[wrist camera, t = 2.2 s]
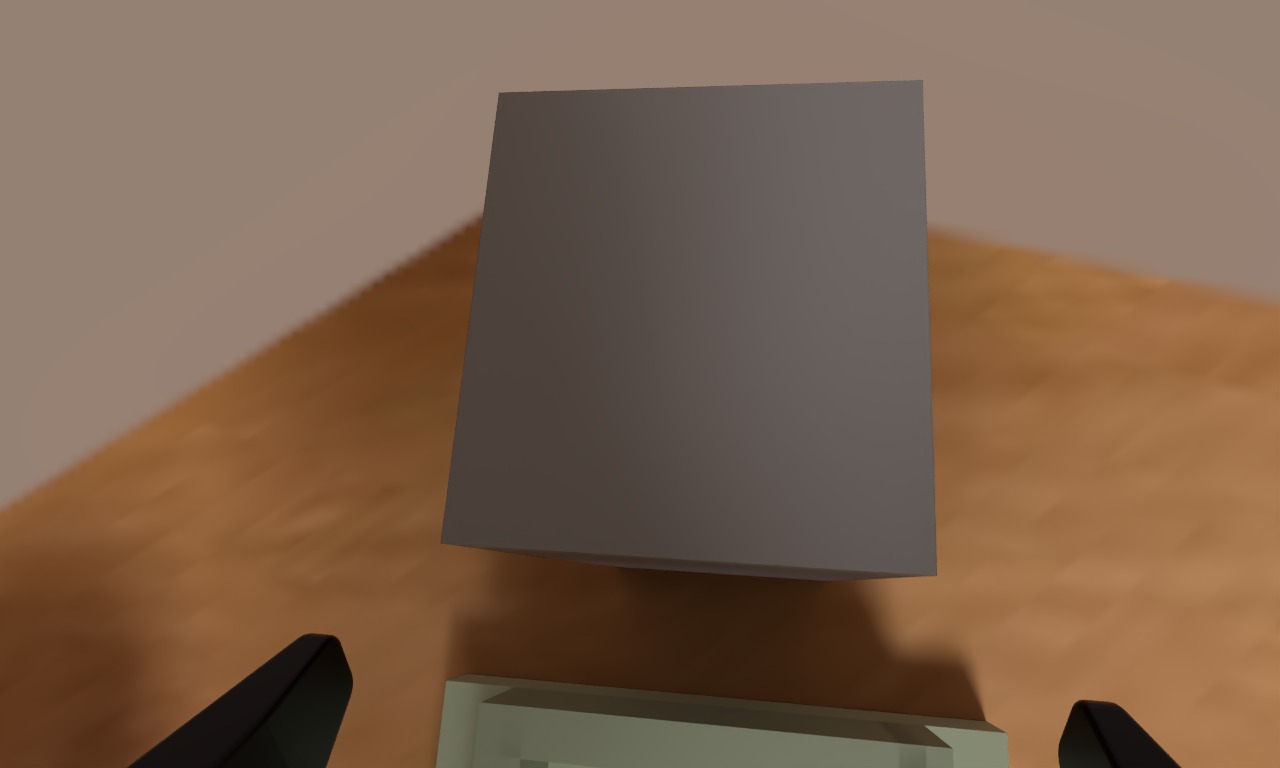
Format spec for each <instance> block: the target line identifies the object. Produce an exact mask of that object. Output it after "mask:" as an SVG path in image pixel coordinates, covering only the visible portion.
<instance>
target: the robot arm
mask: <svg viewBox="0 0 1280 768" xmlns="http://www.w3.org/2000/svg"><path fill="white" fill-rule="evenodd" d="M352 688H353V677H352V673H351V670H350V667H349V665H348V662H347V659H346V657H345V654H344V651H343V648H342V646H341V643H340V641H339V639H338V638H336V637H335V636H333V635H325V634H313V633H311V634H305V635H303V636H301V637H299V638H298V639H296V640H295V641H294V642H293V643H291V644H290V645H289V646H287V647H286V648H285V649H283V650H282V651H281V652H279V653H278V654H277V655H275V656H274V657H273V658H271V659H270V660H269V661H267V662H266V663H265V664H263V665H262V666H261V667H259V668H258V669H257V670H255V671H254V672H253V673H251V674H250V675H249V676H247V677H246V678H245V679H244V680H242V681H241V682H240V683H238V684H237V685H236V686H234V687H233V688H232V689H230V690H229V691H228V692H226V693H225V694H224V695H222V696H221V697H220V698H218V699H217V700H216V701H214V702H213V703H212V704H210V705H209V706H208V707H206V708H205V709H204V710H202V711H201V712H200V713H199V714H197V715H196V716H195V717H193V718H192V719H191V720H189V721H188V722H187V723H185V724H184V725H183V726H181V727H180V728H179V729H177V730H176V731H175V732H173V733H172V734H171V735H169V736H168V737H167V738H165V739H164V740H163V741H161V742H160V743H159V744H157V745H156V746H155V747H153V748H152V749H151V750H150V751H148V752H147V753H146V754H144V755H143V756H142V757H140V758H139V759H138V760H136V761H135V762H134V763H132V764H131V765H130V766H128V767H127V768H326V766H327V763H328V760H329V757H330V754H331V751H332V749H333V746H334V743H335V740H336V737H337V734H338V731H339V728H340V725H341V723H342V720H343V717H344V714H345V711H346V708H347V705H348V702H349V699H350V696H351V693H352ZM1058 757H1059V765H1060V768H1181V767H1180V766H1179V765H1178V764H1177V763H1176V762H1175V761H1174V760H1173V759H1172V758H1171V757H1170V756H1169V755H1168V754H1167V753H1166V752H1165V751H1164V750H1163V749H1162V748H1161V746H1160V745H1159V744H1158V743H1157V742H1156V741H1155V740H1154V739H1153V738H1152V737H1151V736H1150V735H1149V734H1148V733H1147V732H1146V731H1145V730H1144V729H1143V728H1142V727H1141V726H1140V725H1139V724H1138V723H1137V722H1136V721H1135V720H1134V719H1133V718H1132V717H1131V716H1130V715H1129V714H1128V713H1127V712H1126V711H1125V710H1124V709H1123V708H1122V707H1120V706H1119V705H1117V704H1115V703H1111V702H1104V701H1093V700H1079V701H1077V702H1076V703H1075V704H1074V705H1073V707H1072V710H1071V712H1070V715H1069V718H1068V720H1067V723H1066V726H1065V728H1064V731H1063V734H1062V737H1061V739H1060V743H1059V749H1058Z"/></svg>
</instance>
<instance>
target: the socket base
mask: <svg viewBox="0 0 1280 768" xmlns="http://www.w3.org/2000/svg"><path fill="white" fill-rule="evenodd" d="M436 768H1009V759H1008V739H1007V733H1006V732H1004V731H1002V730H1001V729H999V728H997V727H995V726H994V725H992V724H990V723H988V722H987V721H976V720H965V719H954V718H943V717H932V716H921V715H910V714H899V713H889V712H878V711H867V710H856V709H845V708H834V707H823V706H812V705H801V704H790V703H780V702H769V701H758V700H747V699H736V698H725V697H714V696H703V695H692V694H682V693H671V692H660V691H649V690H638V689H627V688H616V687H605V686H594V685H584V684H573V683H562V682H551V681H540V680H529V679H518V678H507V677H496V676H486V675H475V674H466V675H463V676H460V677H456V678H453V679H450V680H447V681H446V687H445V695H444V703H443V712H442V720H441V728H440V736H439V744H438V752H437V761H436Z"/></svg>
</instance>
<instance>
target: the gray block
mask: <svg viewBox="0 0 1280 768" xmlns="http://www.w3.org/2000/svg"><path fill="white" fill-rule="evenodd" d="M924 148H925V147H924V112H923V81H922V80H914V81H881V82H880V81H879V82H846V83H813V84H812V83H811V84H778V85H747V86H745V85H744V86H712V87H711V86H710V87H679V88H678V87H677V88H643V89H610V90H577V91H542V92H510V93H499V97H498V106H497V112H496V120H495V128H494V136H493V143H492V151H491V159H490V166H489V174H488V182H487V190H486V197H485V205H484V213H483V220H482V228H481V236H480V243H479V251H478V259H477V267H476V274H475V282H474V290H473V297H472V305H471V313H470V321H469V328H468V336H467V344H466V351H465V359H464V367H463V375H462V382H461V390H460V398H459V405H458V413H457V421H456V428H455V436H454V444H453V452H452V459H451V467H450V475H449V482H448V490H447V498H446V506H445V513H444V521H443V529H442V536H441V544H449V545H456V546H464V547H471V548H478V549H486V550H493V551H500V552H508V553H515V554H523V555H530V556H537V557H545V558H552V559H560V560H567V561H574V562H582V563H589V564H596V565H604V566H611V567H621V568H636V569H651V570H666V571H681V572H695V573H710V574H725V575H740V576H755V577H769V578H784V579H799V580H814V581H843V580H862V579H882V578H901V577H921V576H937V557H936V523H935V489H934V455H933V420H932V386H931V352H930V317H929V283H928V249H927V215H926V180H925V149H924Z"/></svg>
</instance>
